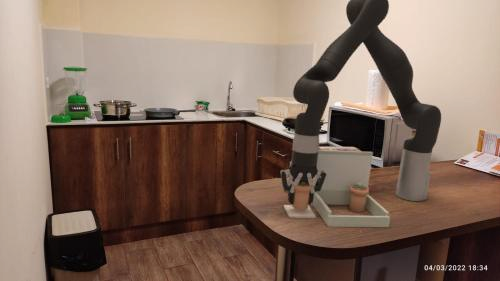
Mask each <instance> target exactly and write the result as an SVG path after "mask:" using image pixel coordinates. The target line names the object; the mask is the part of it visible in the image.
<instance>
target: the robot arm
mask: <svg viewBox="0 0 500 281" xmlns="http://www.w3.org/2000/svg"><path fill="white" fill-rule="evenodd" d="M345 9H346V10H345V13H346V14H345V15H346V17H347V21H348V22H349V24H350V26H349V27H348V28H347V29H345V31H344V32H342V33H341V34H340V35H339V36H338V37H337V38H336V39H335V40H333V41H332V42H331V43H330V45H328V47H326V49H325V51H324V52H323V53H322V54H321V56H320V57H319V59H318V60H317V62H316V63H315V64H314V65H312V67H310V68H309V69H308V70H307V71H306V72H304V74H302V75H301V77H300V78H298V80H297V81H296V83H295V85H294V87H293V90H292V91H293V92H292V94H293V95H292V96H293V98H294V100H295V101H296V102H297V103H300V104H302V105H303V104H304V105H306V109H305V111H304V112H301V113H300V112H299V113H298V114H297V115H296V117H295V118H296V119H295V126H294V134H293V140H292V148H291V150H292V152H291V161H290V162H291V166H290V165H289V168H288V169H280V170H279V174H280V179H281V184H282V188H283V190H284V191H285V192H288V194H287V196H288V197H287V200H288V203H290V205H292V204H294V194H295V193H294V191H295V190H294V186H297V185H298V183H302V182H304V183H308V184H309V186H312V189H311V191H310V193H309V203H308V205H309V206H311V204H312V202H313V198H314V193H315V192H316V191H320V190H321V188H322V185H323V183H324V180H325V177H326V173H325V172H324V171H319V170H317V159H318V150H319V147H320V129H321V121H322V118H323V116H324V113H325V110H326V108H327V105H328V102H329V99H330V89H329V87H328V84H327V83H330V82H333V81H334V80H335V79H336V78H337V77H338V76H339V74H340V72H341V71H342V70H343V68H344V67H345V65H346V64H347V63H348V61H349V60H350V58H351V57H352V55H353V54H354V53H355V52H356V51H357V49H358V48H359V47H360V46H361V45H362V43H363V45H364V46H365V48H366V50H367V51H368V53H369V55H370V57H371V58H372V60H373V62H374V64H375V66H376V68H377V70H378V71H379V74H380V76H381V77H382V80H384V83H385V84H386V86H387V88H388V90H389V92H390V94H391V96H392V97H393V99H394V102H395V103H396V107H397V110H398V112H399V114H400V117H401V119H402V121H403V123H404V125H406V127H408V128H410V129H411V130H415V133H414V136H413V137H412V138H408V139H406V140H404V141H403V147H402V152H401V153H402V154H401V159H400V163H399V164H400V167H399V171H398V178H397V183H396V184H397V185H396V190H395V195H396V196H397V197H398V198H400V199H403V200H406V201H409V202H410V201H412V202H422V201H426V200H427V196H428V192H429V187H430V180H431V176H432V175H431V173H430V172H429V170H430V166H431V165H430V164H431V161H432V160H431V159H432V153H433V149H434V147H435V146H436V143H437V140H438V136H439V131H440V127H441V122H442V113H441V109H440V108H439V107H438V106H436V105H432V104H428V103H427V104H426V103H421V102H420V101H419V99H418V98H417V95H416V94H415V92H414V90H413V79H414V70H413V69H414V68H413V66H412V64H411V62H410V60H409V58H408V56H407V54H406V52H405V51H404V49H402V48H401V46H399V45H398V44H396V42H394V41H393V40H391V39H390V38H388V37H387V35H385V34H384V33H383V32H382V31H381V29H380V28H379V25H381V23H382V22H383V21H384V20H385V19H386V18H387V16H388V13H389V10H390V4H389V0H349V1H348V2H347V4H346V8H345ZM289 173H290V174H291V175H292V177H293V178H292V180H291V183H290V186H288V179H287V178H289ZM316 174H317V177H318V179H317V181H316V184H315V186H314V177H315V175H316Z"/></svg>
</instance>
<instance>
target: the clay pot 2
mask: <svg viewBox="0 0 500 281" xmlns="http://www.w3.org/2000/svg"><path fill="white" fill-rule="evenodd" d="M350 192H351V196H350V204H349V205H348V209H349V210H350V211H352V212H354V213H364V212H365V211H366V208H365V204H366V197H367V195H369V192H370V188H369V186H368V187H366V186H363V184H362V183H361V182H359V183H357V185H351V186H350Z"/></svg>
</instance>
